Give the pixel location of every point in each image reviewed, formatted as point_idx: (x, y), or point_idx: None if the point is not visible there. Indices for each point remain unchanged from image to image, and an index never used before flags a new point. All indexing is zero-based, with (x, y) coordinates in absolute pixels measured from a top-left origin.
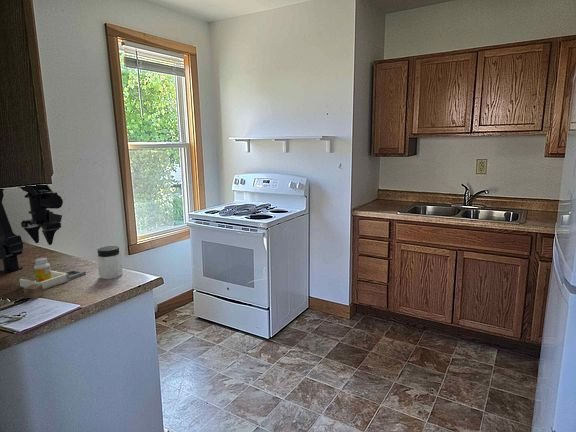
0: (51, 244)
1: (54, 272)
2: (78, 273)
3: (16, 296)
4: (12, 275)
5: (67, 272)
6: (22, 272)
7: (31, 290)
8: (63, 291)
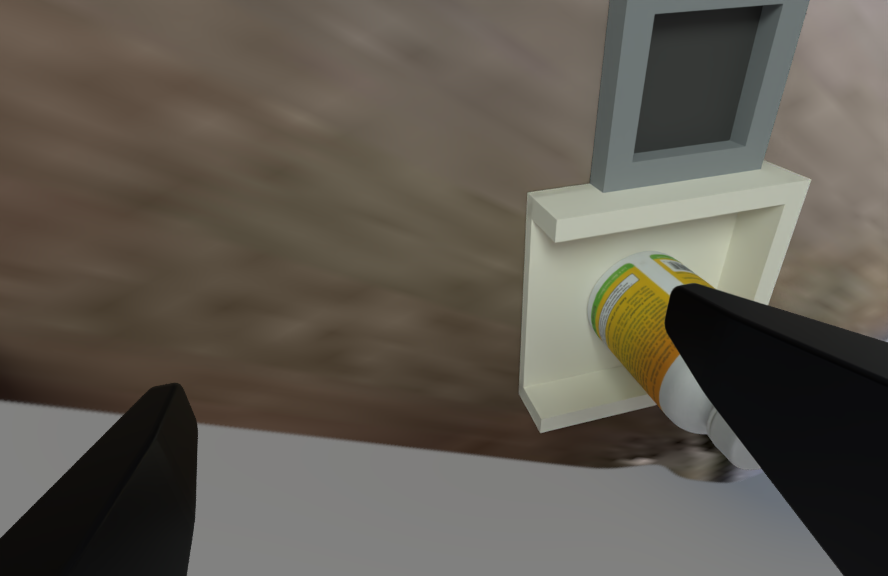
0: (690, 290)
1: (652, 224)
2: (783, 46)
3: (647, 435)
4: (126, 367)
5: (643, 79)
6: (82, 286)
7: None
8: (847, 275)
